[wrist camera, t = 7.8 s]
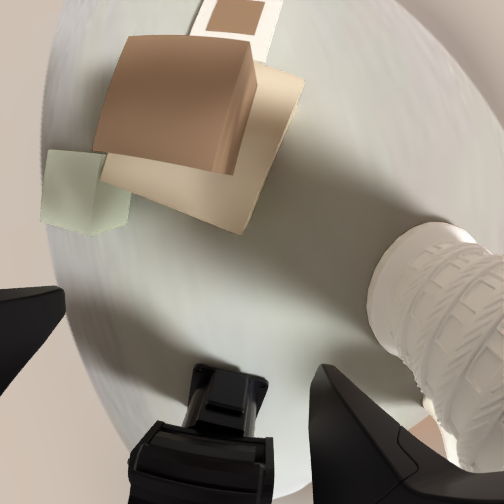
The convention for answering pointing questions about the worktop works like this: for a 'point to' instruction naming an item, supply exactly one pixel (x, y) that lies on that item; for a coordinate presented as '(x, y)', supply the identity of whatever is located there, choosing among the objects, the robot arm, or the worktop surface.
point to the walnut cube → (179, 101)
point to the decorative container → (447, 332)
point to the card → (240, 22)
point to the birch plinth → (216, 184)
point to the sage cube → (81, 194)
